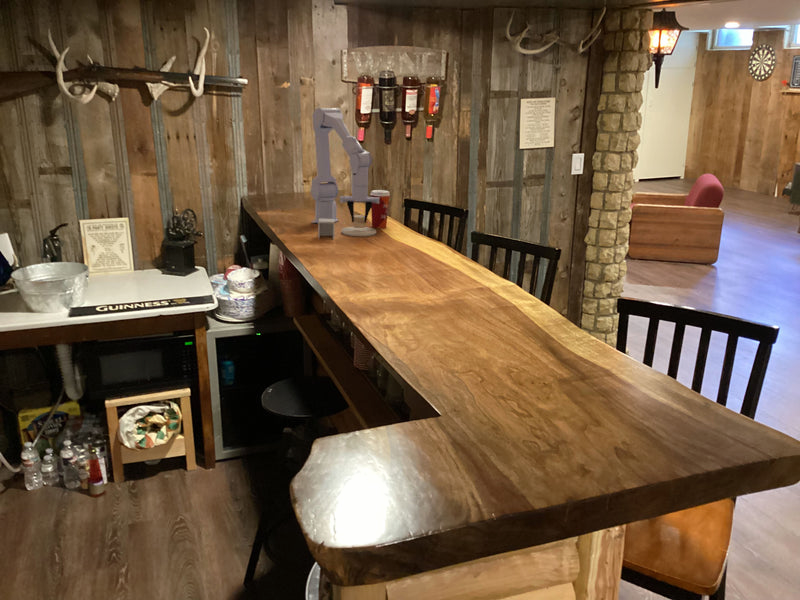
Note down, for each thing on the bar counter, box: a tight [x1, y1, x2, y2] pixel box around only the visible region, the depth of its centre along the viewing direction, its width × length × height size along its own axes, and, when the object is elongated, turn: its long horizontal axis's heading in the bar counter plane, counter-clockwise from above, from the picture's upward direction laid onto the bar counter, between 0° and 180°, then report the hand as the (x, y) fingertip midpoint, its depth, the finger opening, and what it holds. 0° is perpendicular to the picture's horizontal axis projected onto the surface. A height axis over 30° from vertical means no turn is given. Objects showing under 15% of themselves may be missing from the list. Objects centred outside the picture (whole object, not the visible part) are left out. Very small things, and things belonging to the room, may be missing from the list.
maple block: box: [353, 214, 365, 228], centre depth 259 cm, size 4×4×4 cm
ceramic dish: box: [341, 226, 377, 238], centre depth 261 cm, size 13×13×1 cm
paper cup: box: [369, 189, 391, 229], centre depth 271 cm, size 8×8×14 cm
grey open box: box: [317, 218, 336, 240], centre depth 251 cm, size 6×6×6 cm
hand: (359, 221), depth 260 cm, fingers closed on maple block, 4 cm apart
